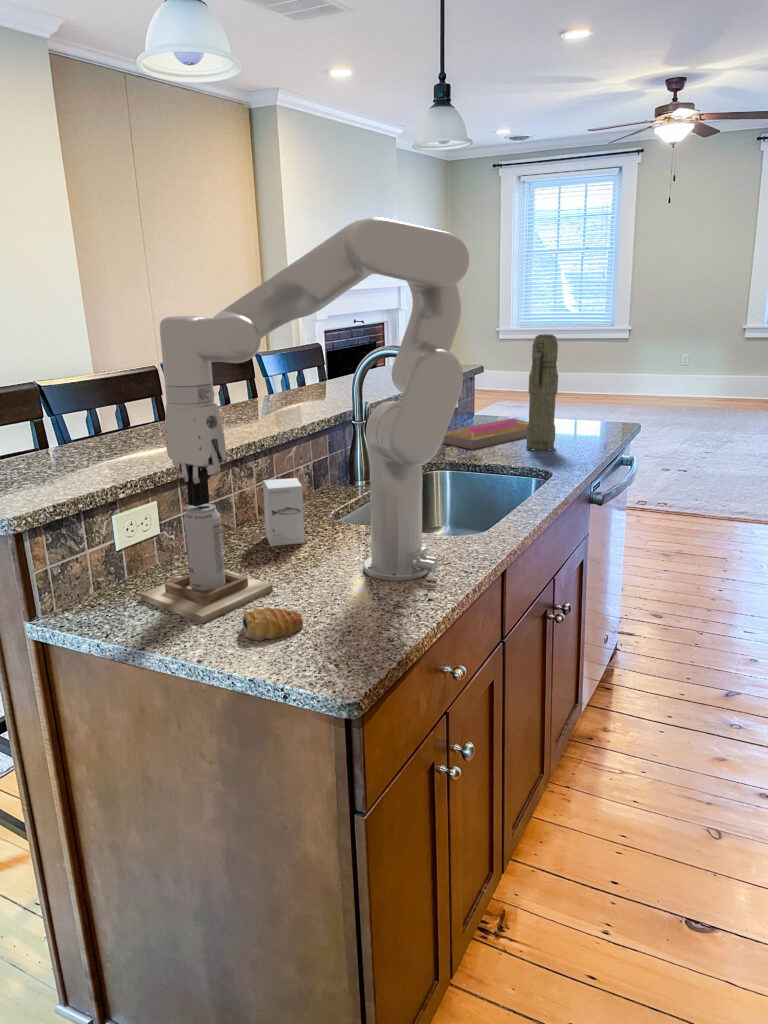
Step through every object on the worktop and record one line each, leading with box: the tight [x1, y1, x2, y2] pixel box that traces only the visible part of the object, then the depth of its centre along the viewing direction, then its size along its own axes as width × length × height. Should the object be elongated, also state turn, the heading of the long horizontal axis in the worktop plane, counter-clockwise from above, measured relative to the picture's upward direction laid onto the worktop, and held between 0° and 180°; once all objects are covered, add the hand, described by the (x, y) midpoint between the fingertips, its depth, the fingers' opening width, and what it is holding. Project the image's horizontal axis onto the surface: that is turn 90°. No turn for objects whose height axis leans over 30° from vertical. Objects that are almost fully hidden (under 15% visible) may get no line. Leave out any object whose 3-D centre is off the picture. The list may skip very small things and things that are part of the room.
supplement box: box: [262, 477, 306, 548], centre depth 159 cm, size 7×7×13 cm
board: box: [139, 569, 274, 624], centre depth 133 cm, size 16×16×3 cm
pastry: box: [241, 606, 304, 641], centre depth 120 cm, size 9×7×4 cm
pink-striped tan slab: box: [443, 417, 529, 450], centre depth 255 cm, size 35×14×6 cm, turn 131°
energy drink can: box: [183, 502, 225, 594], centre depth 131 cm, size 6×6×15 cm
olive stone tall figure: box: [525, 333, 559, 451], centre depth 236 cm, size 9×12×35 cm
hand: (199, 503), depth 128 cm, fingers closed
